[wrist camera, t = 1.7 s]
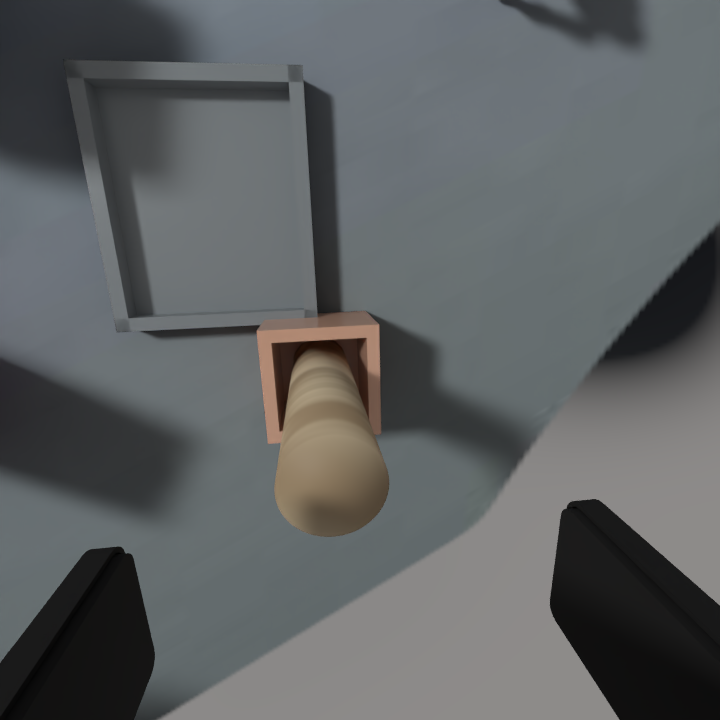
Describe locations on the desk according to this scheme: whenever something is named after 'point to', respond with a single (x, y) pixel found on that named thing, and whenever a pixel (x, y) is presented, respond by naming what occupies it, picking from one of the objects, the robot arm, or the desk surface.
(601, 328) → the desk surface
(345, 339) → the pink open box
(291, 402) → the dowel
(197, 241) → the tray
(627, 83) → the desk surface
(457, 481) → the desk surface
